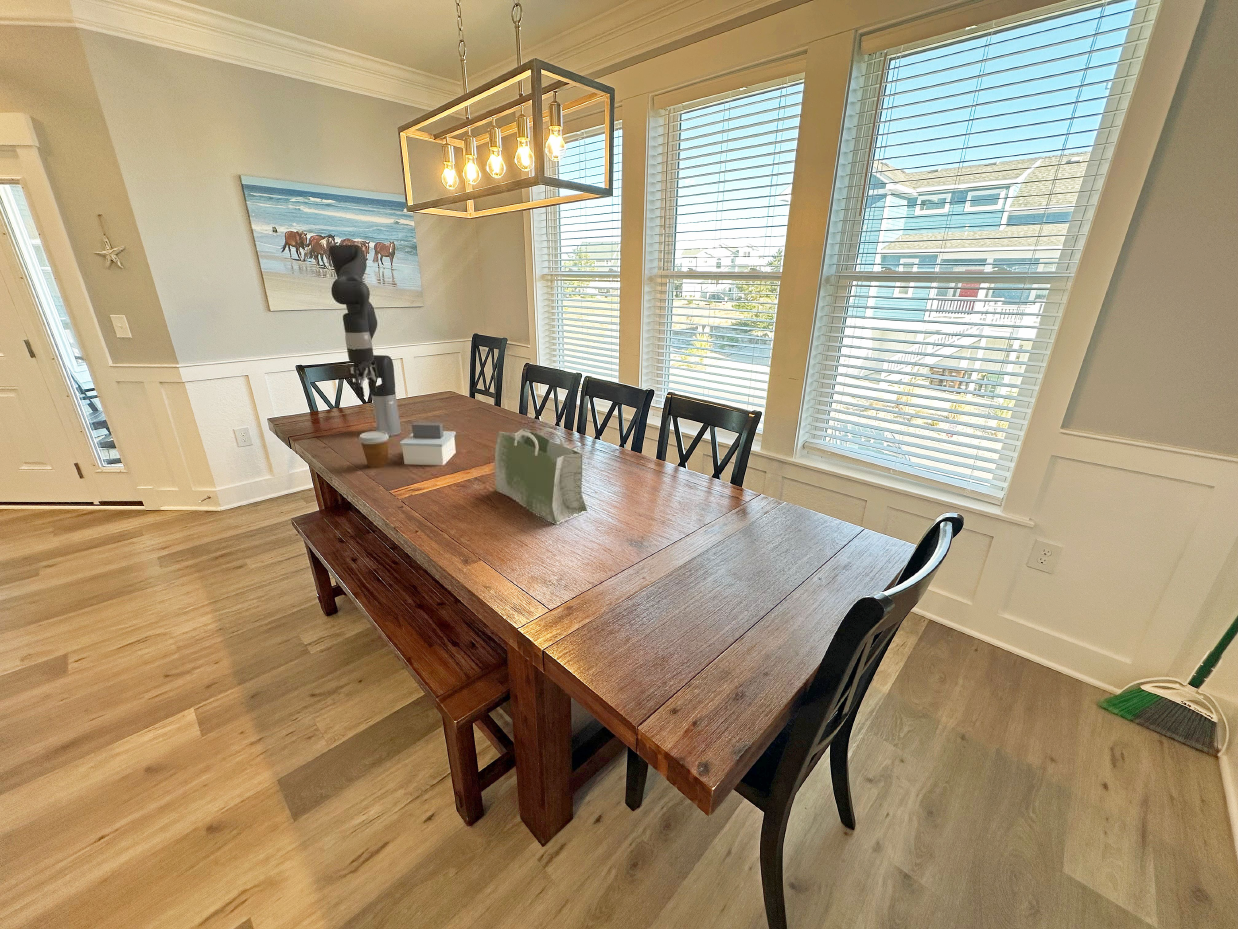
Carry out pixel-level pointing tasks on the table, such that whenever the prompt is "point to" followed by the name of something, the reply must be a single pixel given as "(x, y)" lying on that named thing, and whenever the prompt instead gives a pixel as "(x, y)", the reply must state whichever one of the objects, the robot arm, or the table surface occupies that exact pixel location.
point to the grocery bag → (539, 474)
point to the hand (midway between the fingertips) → (367, 394)
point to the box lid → (427, 435)
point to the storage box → (429, 454)
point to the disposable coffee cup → (375, 448)
